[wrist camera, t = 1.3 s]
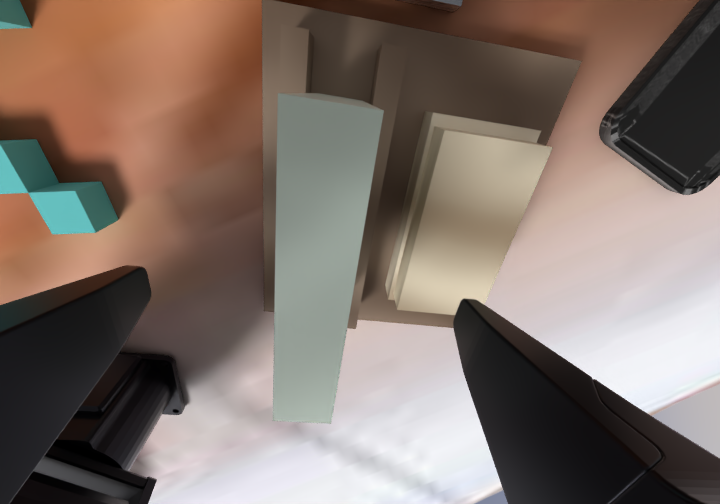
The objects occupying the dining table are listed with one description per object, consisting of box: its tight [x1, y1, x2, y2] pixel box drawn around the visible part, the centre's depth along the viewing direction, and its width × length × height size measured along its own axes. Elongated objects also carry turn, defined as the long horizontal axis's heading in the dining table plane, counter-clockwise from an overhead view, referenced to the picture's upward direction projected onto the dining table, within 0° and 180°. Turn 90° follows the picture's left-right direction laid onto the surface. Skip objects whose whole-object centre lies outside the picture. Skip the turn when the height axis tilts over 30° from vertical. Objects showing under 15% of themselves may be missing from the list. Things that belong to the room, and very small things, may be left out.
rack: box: [262, 0, 582, 329], centre depth 16 cm, size 16×14×3 cm
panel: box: [273, 93, 384, 424], centre depth 12 cm, size 10×2×9 cm, turn 171°
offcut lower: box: [385, 111, 541, 300], centre depth 16 cm, size 10×5×2 cm, turn 171°
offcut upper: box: [393, 126, 553, 315], centre depth 14 cm, size 9×5×2 cm, turn 171°
